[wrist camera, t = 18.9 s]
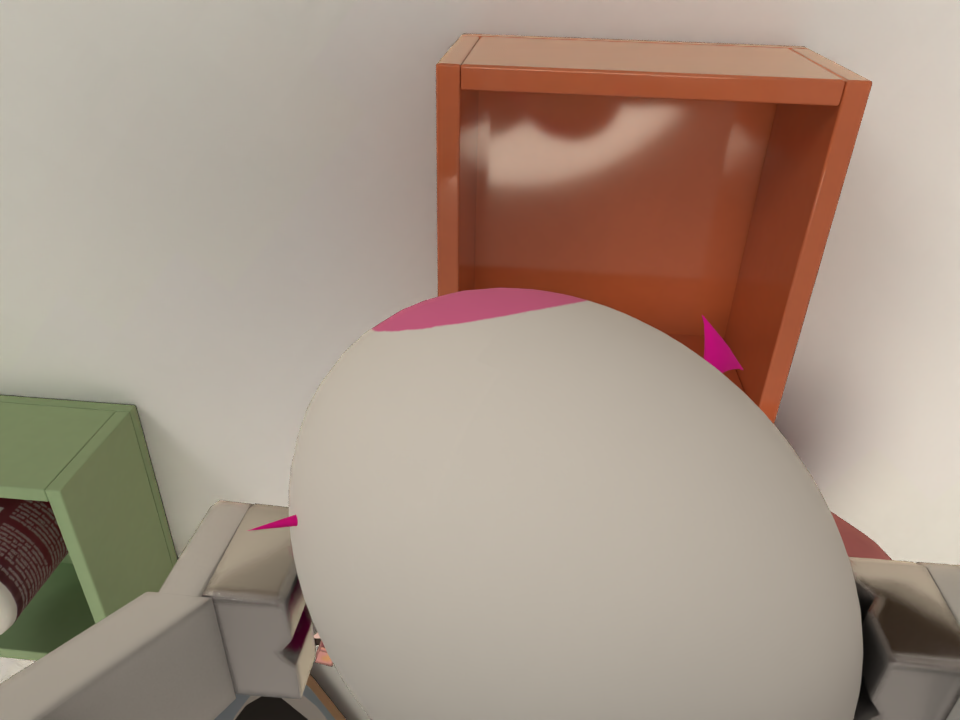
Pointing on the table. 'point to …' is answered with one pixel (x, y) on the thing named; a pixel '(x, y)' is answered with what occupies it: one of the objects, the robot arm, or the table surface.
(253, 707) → the alarm clock
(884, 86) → the table surface
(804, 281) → the terracotta bin
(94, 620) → the sage bin
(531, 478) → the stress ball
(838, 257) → the table surface
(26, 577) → the pill bottle
